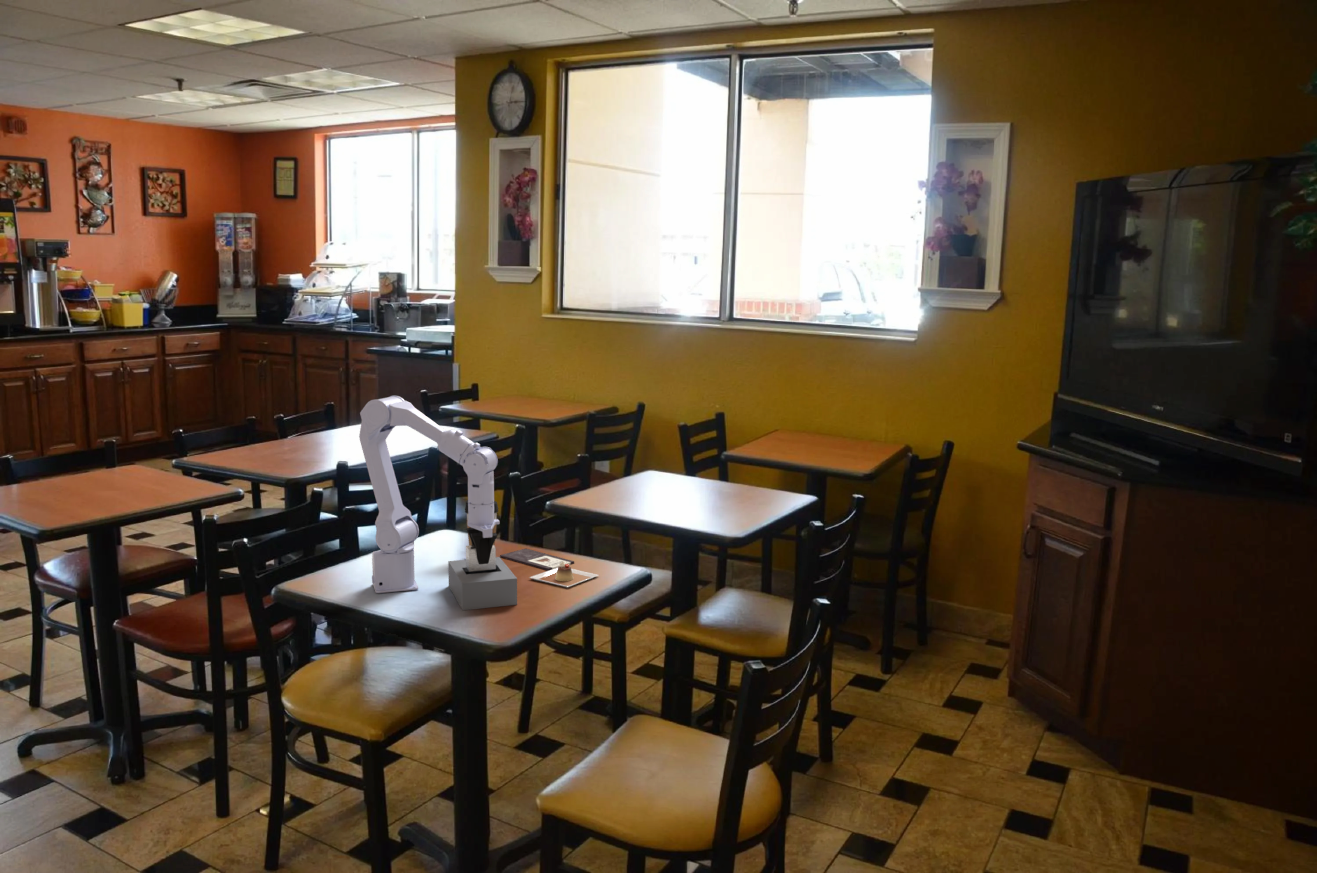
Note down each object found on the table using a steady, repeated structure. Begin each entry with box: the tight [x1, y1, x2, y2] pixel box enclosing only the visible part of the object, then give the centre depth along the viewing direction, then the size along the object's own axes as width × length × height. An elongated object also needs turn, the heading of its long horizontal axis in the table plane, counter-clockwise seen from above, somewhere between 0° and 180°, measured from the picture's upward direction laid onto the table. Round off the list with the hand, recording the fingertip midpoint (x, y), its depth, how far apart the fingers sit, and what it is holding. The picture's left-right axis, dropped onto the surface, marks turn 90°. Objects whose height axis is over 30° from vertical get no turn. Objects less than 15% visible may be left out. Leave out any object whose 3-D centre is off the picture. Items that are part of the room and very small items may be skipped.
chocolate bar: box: [499, 548, 575, 571], centre depth 252 cm, size 9×1×18 cm
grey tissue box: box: [447, 556, 518, 611], centre depth 222 cm, size 12×18×6 cm, turn 21°
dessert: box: [528, 561, 600, 589], centre depth 236 cm, size 12×12×5 cm
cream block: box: [465, 545, 497, 572], centre depth 221 cm, size 6×4×5 cm, turn 111°
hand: (481, 561), depth 222 cm, fingers closed on cream block, 3 cm apart
